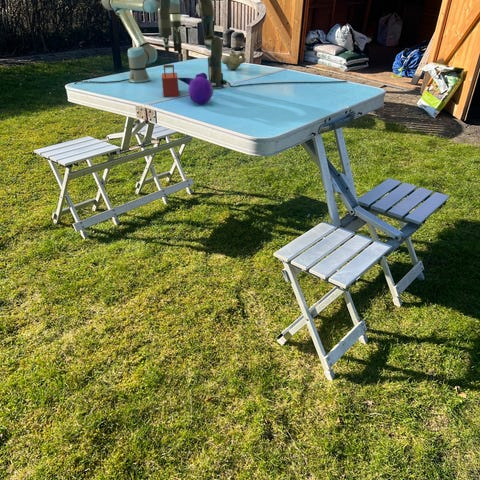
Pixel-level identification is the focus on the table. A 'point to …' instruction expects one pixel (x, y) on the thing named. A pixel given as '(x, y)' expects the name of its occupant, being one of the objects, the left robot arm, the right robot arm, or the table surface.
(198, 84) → the toy
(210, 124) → the table surface
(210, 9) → the right robot arm
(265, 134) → the table surface
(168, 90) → the chest
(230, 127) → the table surface
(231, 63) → the teapot
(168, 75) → the lid
